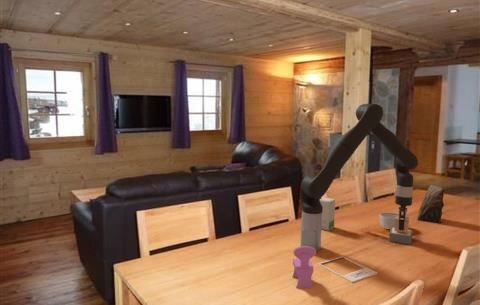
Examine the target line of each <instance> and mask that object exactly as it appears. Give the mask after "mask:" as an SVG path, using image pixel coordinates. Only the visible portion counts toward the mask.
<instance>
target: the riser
mask: <svg viewBox="0 0 480 305" xmlns="http://www.w3.org/2000/svg"><path fill="white" fill-rule="evenodd" d="M394 230H395V228H392V227H391V229H390V230H389V238H388V241H389V242H390V243H391V242H392V243H398V244H403V245H410V246H412V244H413V233H414V232H413V230H412V229H408V233H406V232H400V231H394Z"/></svg>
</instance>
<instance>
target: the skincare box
mask: <svg viewBox="0 0 480 305" xmlns="http://www.w3.org/2000/svg"><path fill="white" fill-rule="evenodd" d="M319 200H320V203H321V205H322V207H323V211H322V230H323V231H330V230H332V229H333V228H335V218H336V217H335V215H336V198H329V197H323V198H319Z"/></svg>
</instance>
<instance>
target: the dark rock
mask: <svg viewBox="0 0 480 305" xmlns="http://www.w3.org/2000/svg"><path fill="white" fill-rule="evenodd" d="M444 193H445V188H443V187H441V186H437V185H435V184H432V183H431V184H430V185H429V187H428V188H427V191H426V193H425V195H424V197H423V200H422V202H421V205H420V207H419V211H418V214H417V221H420V222H421V221H422V222H426V223H427V222H428V223H434V224H441V223H442V222H441V219H442V216H443V208H444V206H445V204H444V195H445V194H444Z"/></svg>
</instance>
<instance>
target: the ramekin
mask: <svg viewBox="0 0 480 305" xmlns="http://www.w3.org/2000/svg"><path fill="white" fill-rule="evenodd" d="M398 215H399V212H392V211H391V212H390V211H388V212H387V211H385V212H381V213H379V225H380V227H381V226H382V227H384V228H389V229H391V227H392V228H395V218H396V216H398ZM382 227H381V228H382ZM384 228H383V229H384Z"/></svg>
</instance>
